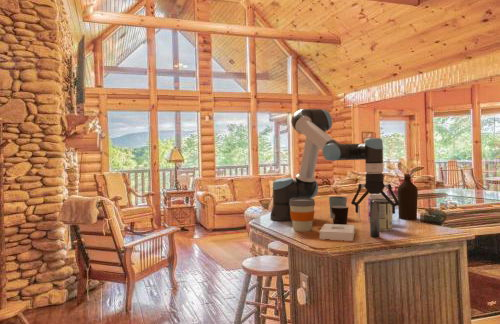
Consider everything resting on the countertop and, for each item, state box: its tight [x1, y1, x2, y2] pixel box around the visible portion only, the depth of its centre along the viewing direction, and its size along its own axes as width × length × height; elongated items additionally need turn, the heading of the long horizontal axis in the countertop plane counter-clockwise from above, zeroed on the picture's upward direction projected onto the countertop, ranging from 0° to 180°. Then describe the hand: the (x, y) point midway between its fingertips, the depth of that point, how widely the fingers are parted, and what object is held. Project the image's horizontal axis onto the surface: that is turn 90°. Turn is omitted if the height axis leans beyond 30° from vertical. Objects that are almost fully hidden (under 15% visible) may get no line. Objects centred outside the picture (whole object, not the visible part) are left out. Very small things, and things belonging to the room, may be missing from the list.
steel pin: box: [369, 200, 381, 239], centre depth 167 cm, size 4×4×16 cm
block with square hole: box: [319, 223, 356, 242], centre depth 170 cm, size 18×14×4 cm
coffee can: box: [372, 198, 393, 232], centre depth 184 cm, size 10×10×14 cm
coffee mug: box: [331, 205, 349, 225], centre depth 193 cm, size 12×9×10 cm
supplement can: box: [367, 193, 385, 222], centre depth 203 cm, size 8×8×15 cm
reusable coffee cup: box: [289, 198, 316, 232], centre depth 185 cm, size 12×13×15 cm
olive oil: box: [396, 173, 419, 221], centre depth 212 cm, size 11×11×25 cm
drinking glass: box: [328, 196, 348, 219], centre depth 218 cm, size 10×10×12 cm
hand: (375, 220), depth 167 cm, fingers open, 13 cm apart
